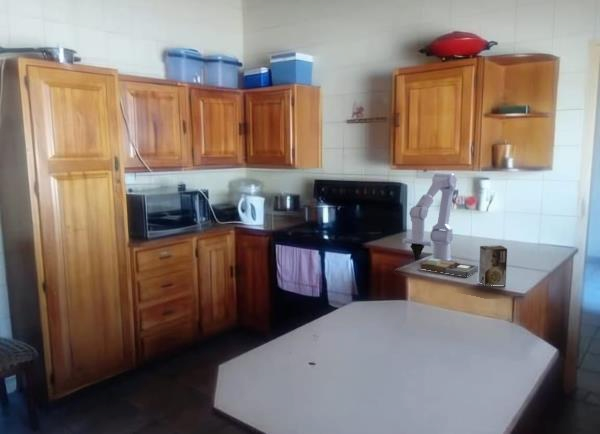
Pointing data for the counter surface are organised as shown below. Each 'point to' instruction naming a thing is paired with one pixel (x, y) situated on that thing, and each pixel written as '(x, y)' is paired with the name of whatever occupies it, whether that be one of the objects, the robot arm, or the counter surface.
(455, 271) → the box
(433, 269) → the flat brown block
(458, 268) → the cream tile
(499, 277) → the coffee box
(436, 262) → the sage tile
